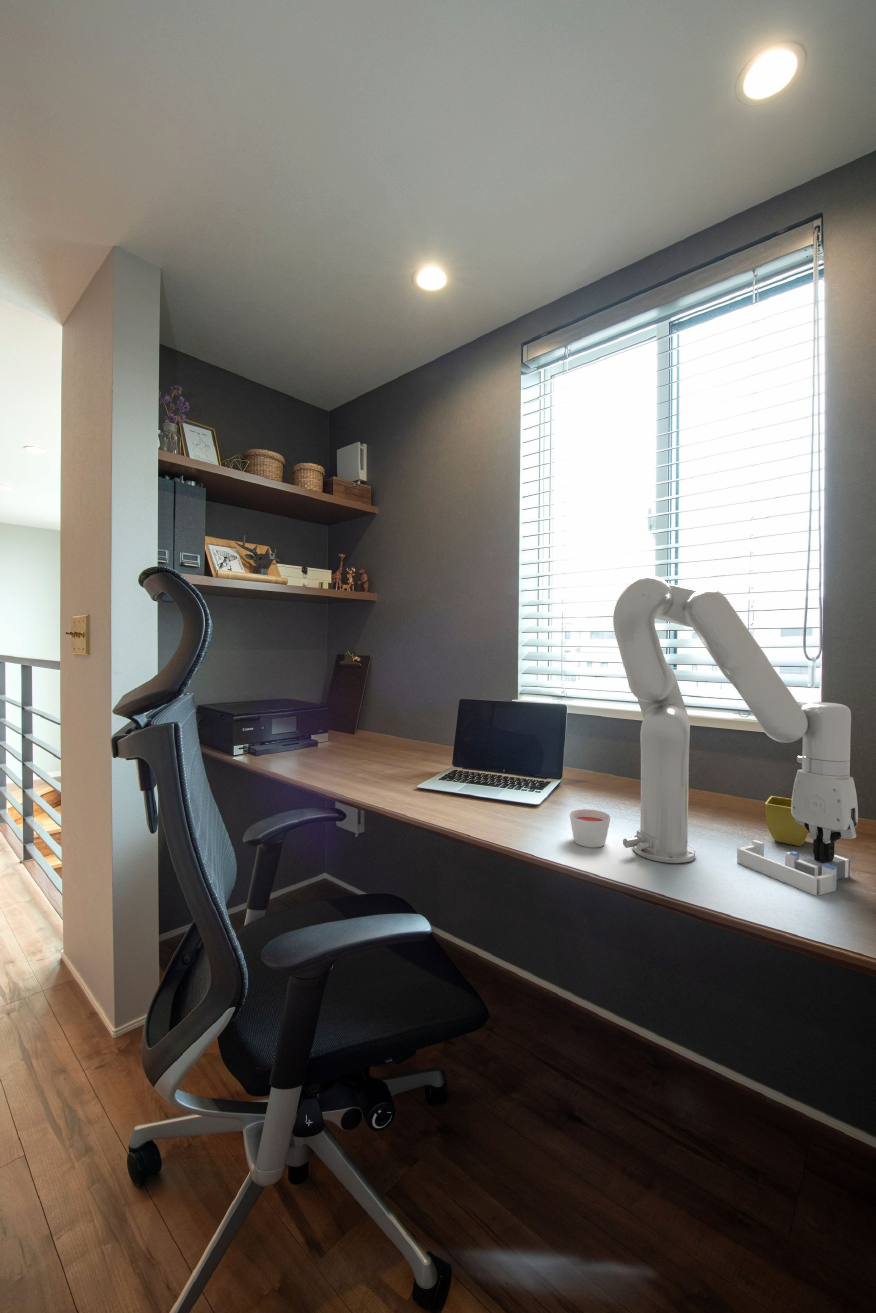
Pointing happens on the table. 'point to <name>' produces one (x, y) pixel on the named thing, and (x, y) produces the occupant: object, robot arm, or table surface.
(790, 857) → the white arch handle
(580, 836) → the candle
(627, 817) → the table surface
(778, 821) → the flower pot
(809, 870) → the white-capped gray brick
